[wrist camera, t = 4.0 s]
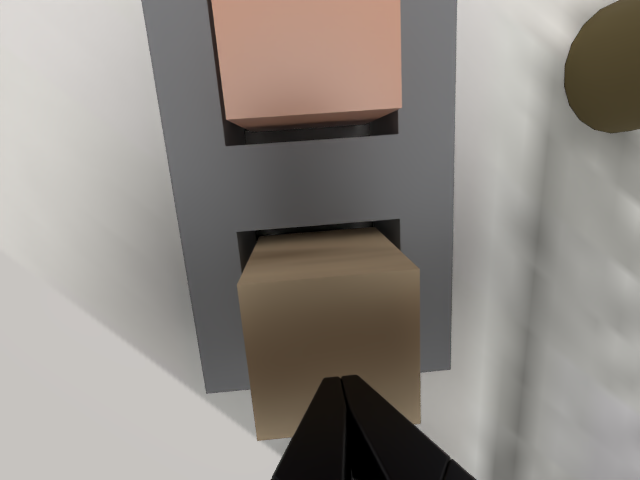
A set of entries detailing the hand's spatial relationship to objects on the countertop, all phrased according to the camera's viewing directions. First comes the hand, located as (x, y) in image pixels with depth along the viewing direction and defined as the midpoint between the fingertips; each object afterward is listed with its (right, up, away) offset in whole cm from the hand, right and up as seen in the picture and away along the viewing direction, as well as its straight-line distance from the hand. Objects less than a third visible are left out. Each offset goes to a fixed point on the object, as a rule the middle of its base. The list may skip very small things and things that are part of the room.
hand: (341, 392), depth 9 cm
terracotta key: (-1, +11, +6) cm, 12 cm away
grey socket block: (-1, +7, +9) cm, 11 cm away
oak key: (0, +2, +7) cm, 7 cm away
